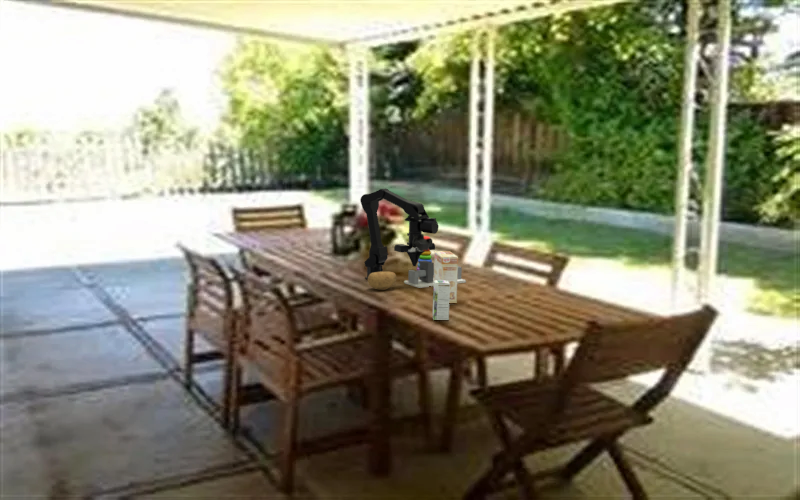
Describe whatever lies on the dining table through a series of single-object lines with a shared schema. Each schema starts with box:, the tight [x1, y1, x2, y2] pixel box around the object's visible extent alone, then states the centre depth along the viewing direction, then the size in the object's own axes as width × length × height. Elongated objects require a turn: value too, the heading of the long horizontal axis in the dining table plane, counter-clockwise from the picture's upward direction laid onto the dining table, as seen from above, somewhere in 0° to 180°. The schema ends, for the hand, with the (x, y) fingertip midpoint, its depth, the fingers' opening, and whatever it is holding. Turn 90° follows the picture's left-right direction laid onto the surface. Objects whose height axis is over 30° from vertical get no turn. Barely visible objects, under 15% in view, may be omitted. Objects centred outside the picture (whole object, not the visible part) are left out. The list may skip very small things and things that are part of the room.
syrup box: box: [432, 280, 450, 321], centre depth 337 cm, size 6×6×14 cm
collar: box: [419, 261, 434, 282], centre depth 403 cm, size 3×7×8 cm, turn 33°
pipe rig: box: [403, 265, 467, 289], centre depth 406 cm, size 26×12×7 cm, turn 123°
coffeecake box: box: [433, 250, 459, 303], centre depth 369 cm, size 15×7×20 cm, turn 9°
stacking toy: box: [416, 235, 433, 271], centre depth 423 cm, size 8×8×19 cm
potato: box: [367, 271, 397, 291], centre depth 390 cm, size 10×14×8 cm
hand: (414, 266), depth 399 cm, fingers closed
